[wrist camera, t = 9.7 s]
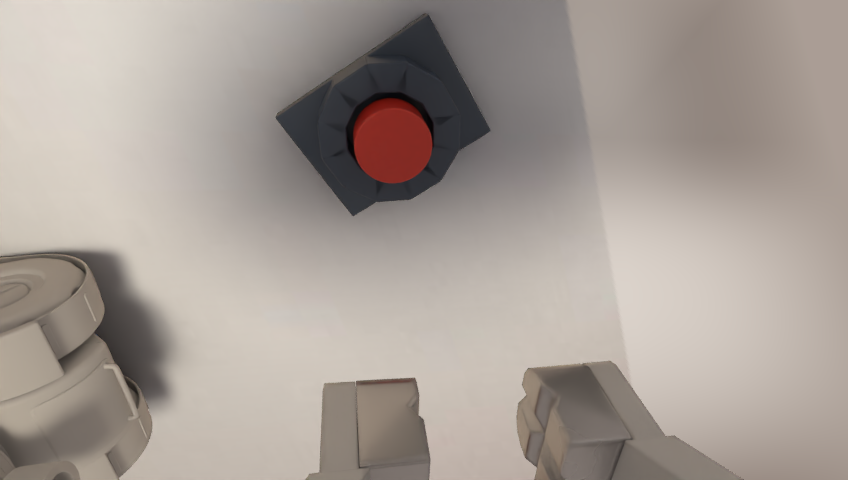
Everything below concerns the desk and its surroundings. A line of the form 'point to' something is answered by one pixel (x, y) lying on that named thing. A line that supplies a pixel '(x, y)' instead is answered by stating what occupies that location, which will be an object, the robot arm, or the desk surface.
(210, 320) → the desk surface
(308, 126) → the button housing
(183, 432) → the desk surface
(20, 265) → the toy tank
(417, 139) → the button
